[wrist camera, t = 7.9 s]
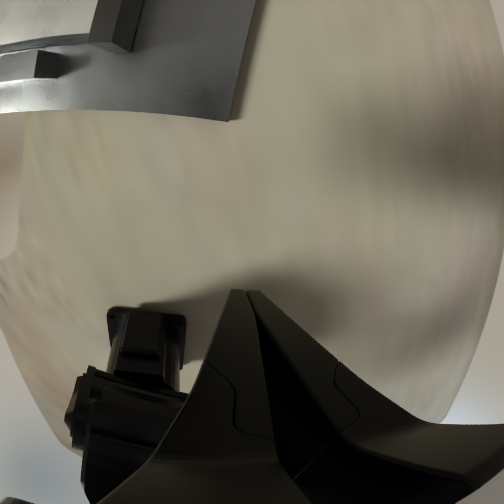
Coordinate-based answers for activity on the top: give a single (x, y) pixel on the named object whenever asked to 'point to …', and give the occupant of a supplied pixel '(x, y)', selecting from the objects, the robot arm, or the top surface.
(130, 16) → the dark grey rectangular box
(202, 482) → the robot arm
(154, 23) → the grey tray
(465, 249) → the top surface
